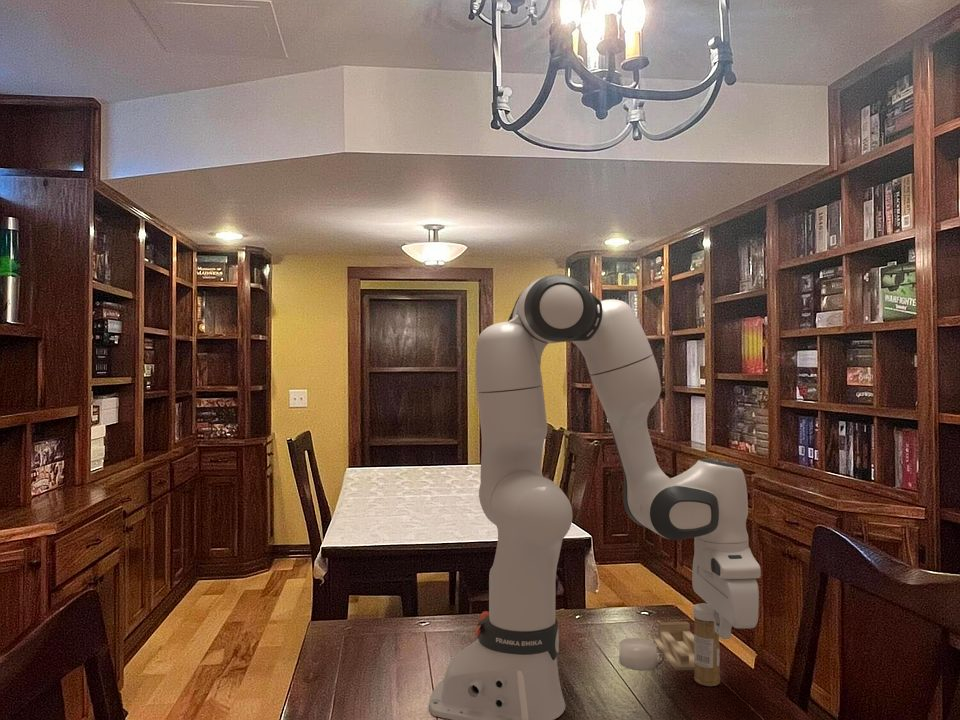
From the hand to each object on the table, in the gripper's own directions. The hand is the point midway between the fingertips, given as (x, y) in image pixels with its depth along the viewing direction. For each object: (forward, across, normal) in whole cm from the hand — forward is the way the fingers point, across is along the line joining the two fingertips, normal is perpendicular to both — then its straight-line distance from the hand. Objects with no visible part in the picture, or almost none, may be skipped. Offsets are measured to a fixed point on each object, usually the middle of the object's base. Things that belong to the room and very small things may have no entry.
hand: (722, 635), depth 122 cm
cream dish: (+11, -15, -11) cm, 21 cm away
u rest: (+11, -18, 0) cm, 21 cm away
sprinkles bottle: (+11, -6, 0) cm, 13 cm away
